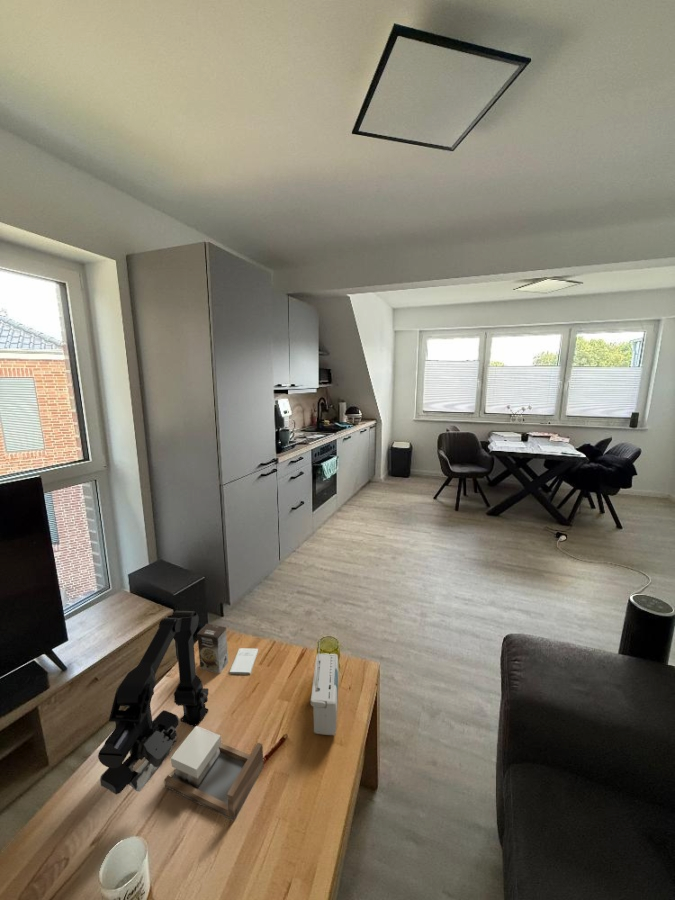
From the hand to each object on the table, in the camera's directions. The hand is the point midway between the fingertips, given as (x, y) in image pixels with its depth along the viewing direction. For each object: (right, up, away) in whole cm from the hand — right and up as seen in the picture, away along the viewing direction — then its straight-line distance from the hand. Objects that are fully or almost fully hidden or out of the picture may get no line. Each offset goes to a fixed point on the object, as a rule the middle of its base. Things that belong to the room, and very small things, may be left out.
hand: (146, 774), depth 93 cm
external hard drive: (+12, -2, +51) cm, 52 cm away
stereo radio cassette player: (+46, -5, +30) cm, 55 cm away
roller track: (+15, -9, +9) cm, 20 cm away
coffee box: (+1, -2, +49) cm, 49 cm away
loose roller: (0, -1, 0) cm, 1 cm away
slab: (+9, -4, +10) cm, 14 cm away
